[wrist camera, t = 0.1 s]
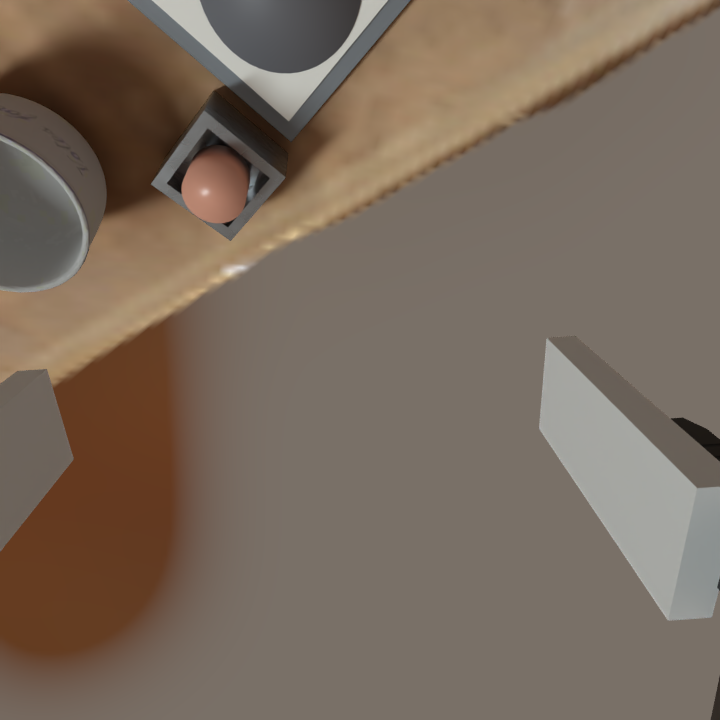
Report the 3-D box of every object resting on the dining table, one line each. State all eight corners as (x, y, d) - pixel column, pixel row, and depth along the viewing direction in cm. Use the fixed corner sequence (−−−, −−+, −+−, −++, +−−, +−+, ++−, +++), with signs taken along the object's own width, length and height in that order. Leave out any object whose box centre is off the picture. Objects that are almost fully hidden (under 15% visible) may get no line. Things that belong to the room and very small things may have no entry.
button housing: (213, 90, 35) (204, 110, 32) (288, 153, 38) (285, 177, 35) (163, 159, 38) (150, 184, 35) (237, 214, 41) (230, 241, 38)
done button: (212, 131, 34) (204, 150, 32) (262, 172, 36) (258, 192, 34) (178, 176, 36) (169, 196, 33) (228, 213, 38) (222, 234, 35)
